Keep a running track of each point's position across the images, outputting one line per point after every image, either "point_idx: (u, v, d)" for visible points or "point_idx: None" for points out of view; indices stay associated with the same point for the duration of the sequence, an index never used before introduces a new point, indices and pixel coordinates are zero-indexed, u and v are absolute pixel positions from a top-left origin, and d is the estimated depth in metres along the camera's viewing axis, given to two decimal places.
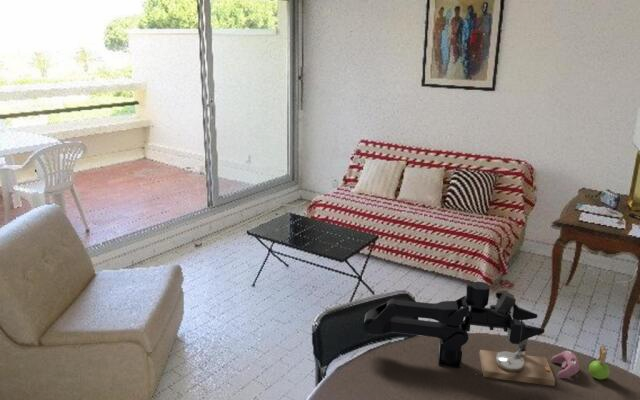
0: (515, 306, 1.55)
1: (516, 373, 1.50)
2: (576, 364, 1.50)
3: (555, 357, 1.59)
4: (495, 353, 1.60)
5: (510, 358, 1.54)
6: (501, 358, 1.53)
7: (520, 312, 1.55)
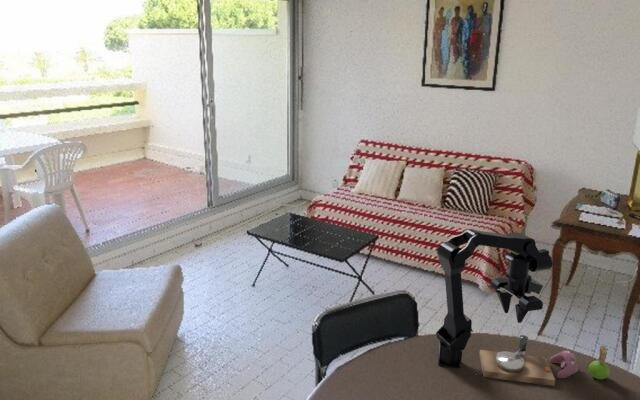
0: None
1: (516, 373, 1.50)
2: (575, 364, 1.51)
3: (554, 357, 1.59)
4: (495, 353, 1.60)
5: (510, 358, 1.54)
6: (501, 358, 1.53)
7: (508, 298, 1.65)
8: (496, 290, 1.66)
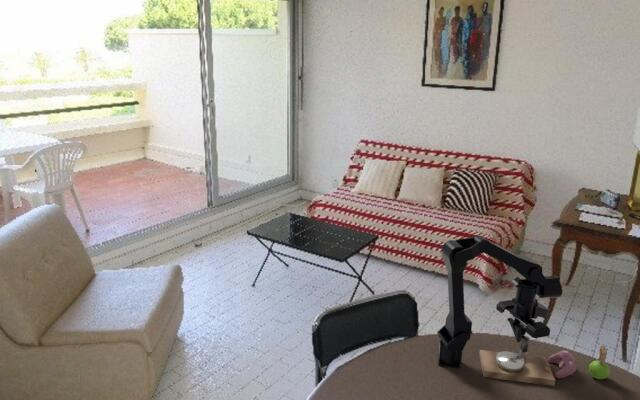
0: None
1: (516, 373, 1.50)
2: (573, 364, 1.51)
3: (552, 357, 1.59)
4: (495, 353, 1.60)
5: (510, 358, 1.54)
6: (501, 358, 1.53)
7: None
8: (508, 318, 1.61)
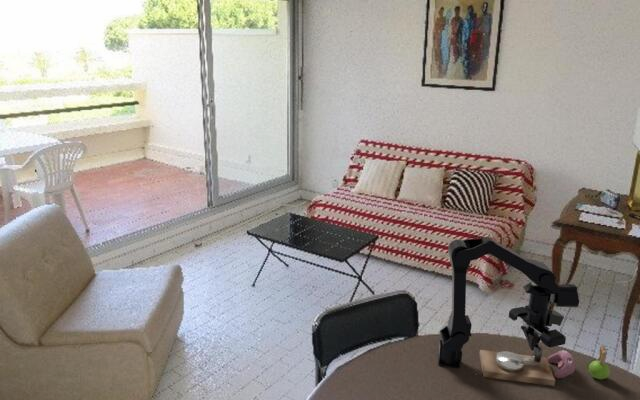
0: None
1: (516, 373, 1.50)
2: (572, 364, 1.51)
3: (551, 357, 1.59)
4: (495, 353, 1.60)
5: (510, 358, 1.54)
6: (501, 355, 1.55)
7: None
8: (522, 326, 1.56)
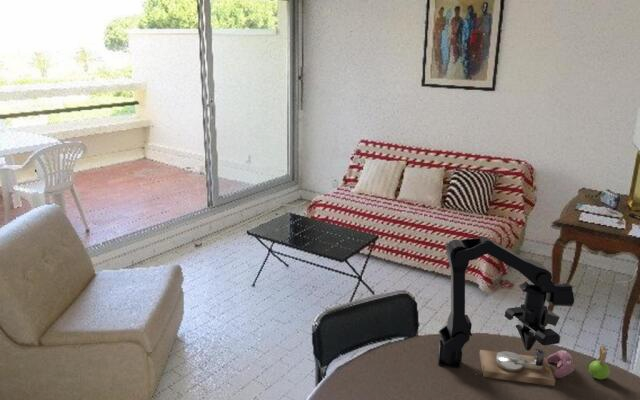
0: None
1: (516, 373, 1.50)
2: (571, 364, 1.51)
3: (550, 357, 1.59)
4: (495, 353, 1.60)
5: (510, 358, 1.54)
6: (502, 354, 1.56)
7: None
8: (516, 325, 1.57)
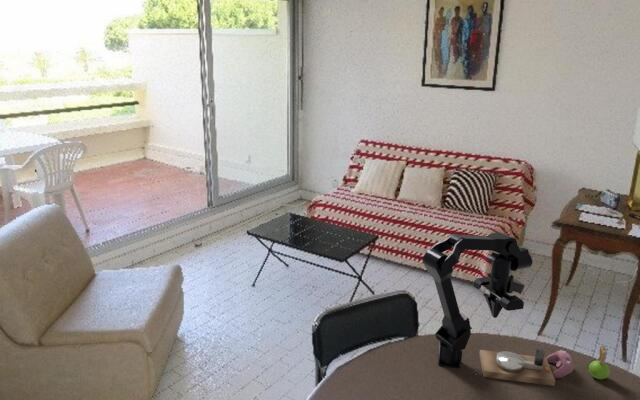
0: None
1: (516, 373, 1.50)
2: (570, 363, 1.51)
3: (550, 357, 1.59)
4: (495, 353, 1.60)
5: (510, 358, 1.54)
6: (502, 354, 1.56)
7: None
8: (484, 294, 1.63)
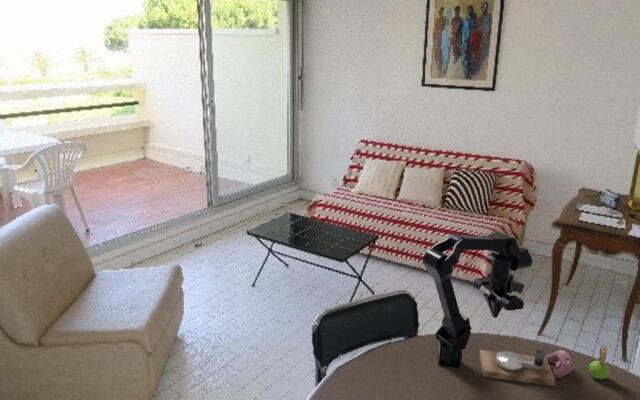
0: None
1: (516, 373, 1.50)
2: (570, 363, 1.51)
3: (549, 357, 1.59)
4: (495, 353, 1.60)
5: (510, 358, 1.54)
6: (502, 354, 1.56)
7: None
8: (484, 294, 1.63)
